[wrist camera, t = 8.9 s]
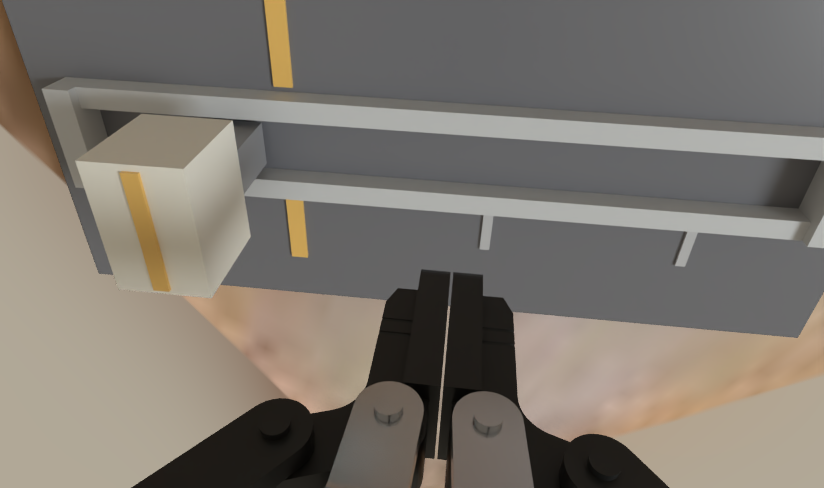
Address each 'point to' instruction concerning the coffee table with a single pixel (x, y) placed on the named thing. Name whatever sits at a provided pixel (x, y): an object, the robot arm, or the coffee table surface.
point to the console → (483, 142)
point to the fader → (173, 200)
